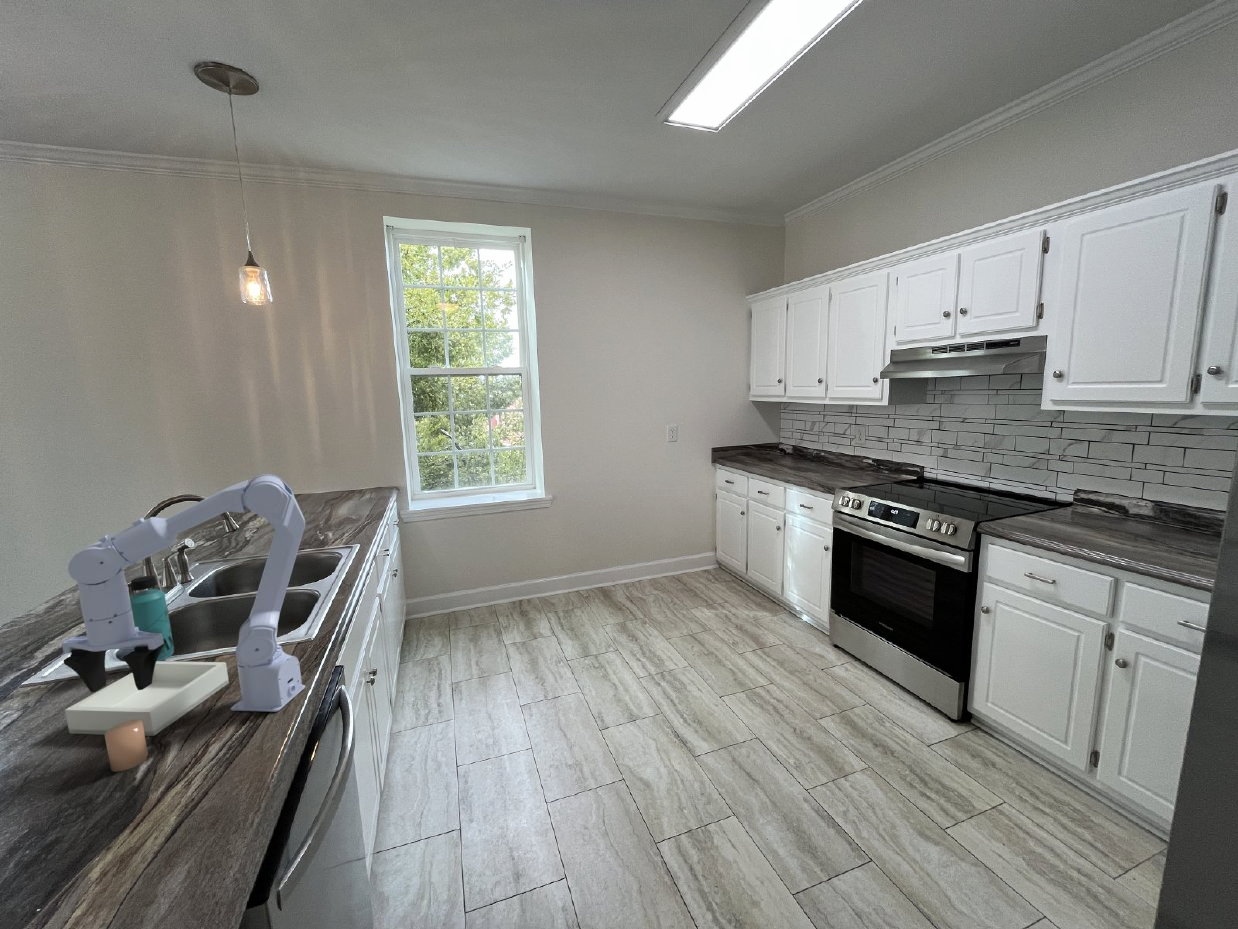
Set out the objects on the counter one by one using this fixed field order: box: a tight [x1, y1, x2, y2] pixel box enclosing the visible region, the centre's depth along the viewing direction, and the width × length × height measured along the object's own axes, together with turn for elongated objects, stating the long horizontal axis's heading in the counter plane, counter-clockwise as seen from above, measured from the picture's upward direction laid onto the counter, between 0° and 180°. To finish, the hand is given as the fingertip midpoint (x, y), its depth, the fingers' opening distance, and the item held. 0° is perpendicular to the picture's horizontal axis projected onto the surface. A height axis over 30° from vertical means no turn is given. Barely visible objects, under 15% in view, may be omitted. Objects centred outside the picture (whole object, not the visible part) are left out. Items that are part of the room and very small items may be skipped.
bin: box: [64, 660, 230, 737], centre depth 97 cm, size 16×16×5 cm
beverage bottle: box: [129, 575, 175, 661], centre depth 111 cm, size 6×7×20 cm
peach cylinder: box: [104, 720, 149, 773], centre depth 82 cm, size 4×4×6 cm
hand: (121, 687), depth 87 cm, fingers open, 7 cm apart
